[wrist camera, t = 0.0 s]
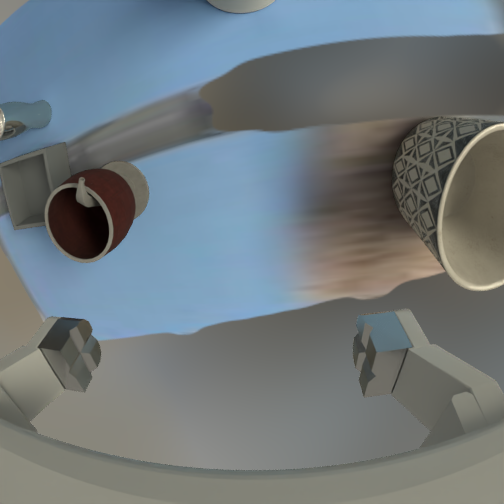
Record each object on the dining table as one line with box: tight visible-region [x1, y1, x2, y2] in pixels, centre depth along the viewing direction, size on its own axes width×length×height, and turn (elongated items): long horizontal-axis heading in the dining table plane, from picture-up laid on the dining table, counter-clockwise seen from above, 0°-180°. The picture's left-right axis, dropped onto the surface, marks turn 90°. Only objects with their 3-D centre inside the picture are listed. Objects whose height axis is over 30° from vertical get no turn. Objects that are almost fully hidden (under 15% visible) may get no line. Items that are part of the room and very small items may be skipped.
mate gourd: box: [45, 161, 149, 263], centre depth 47 cm, size 16×14×20 cm
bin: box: [0, 142, 71, 230], centre depth 52 cm, size 15×15×7 cm
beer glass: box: [0, 100, 52, 141], centre depth 42 cm, size 7×7×15 cm
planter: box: [392, 117, 504, 291], centre depth 42 cm, size 26×26×22 cm
